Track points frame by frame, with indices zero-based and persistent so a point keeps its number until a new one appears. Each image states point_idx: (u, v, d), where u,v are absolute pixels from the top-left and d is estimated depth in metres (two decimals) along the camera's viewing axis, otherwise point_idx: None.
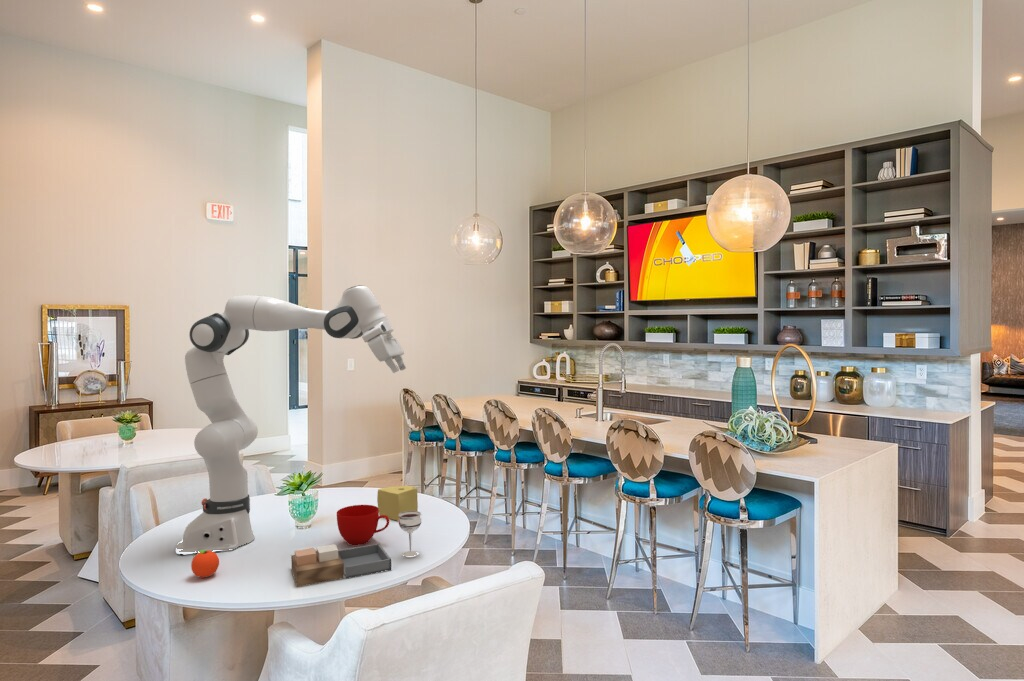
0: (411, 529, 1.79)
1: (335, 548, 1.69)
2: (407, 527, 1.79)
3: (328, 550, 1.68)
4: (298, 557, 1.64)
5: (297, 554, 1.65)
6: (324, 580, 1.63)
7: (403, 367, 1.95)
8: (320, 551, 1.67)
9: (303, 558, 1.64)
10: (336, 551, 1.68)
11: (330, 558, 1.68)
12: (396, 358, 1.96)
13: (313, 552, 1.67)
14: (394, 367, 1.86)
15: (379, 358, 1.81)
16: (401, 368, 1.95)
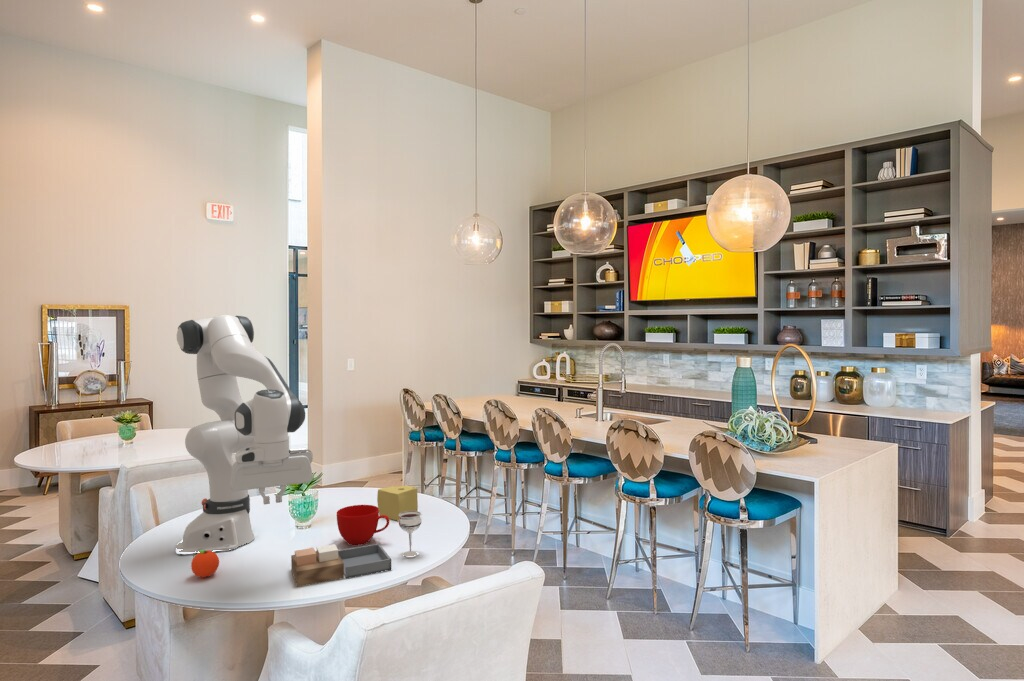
0: (411, 529, 1.79)
1: (335, 548, 1.69)
2: (407, 527, 1.79)
3: (328, 550, 1.68)
4: (298, 557, 1.64)
5: (297, 554, 1.65)
6: (324, 580, 1.63)
7: (276, 500, 1.63)
8: (320, 551, 1.67)
9: (303, 558, 1.64)
10: (336, 551, 1.68)
11: (330, 558, 1.68)
12: None
13: (313, 552, 1.67)
14: (263, 499, 1.62)
15: None
16: (276, 499, 1.64)
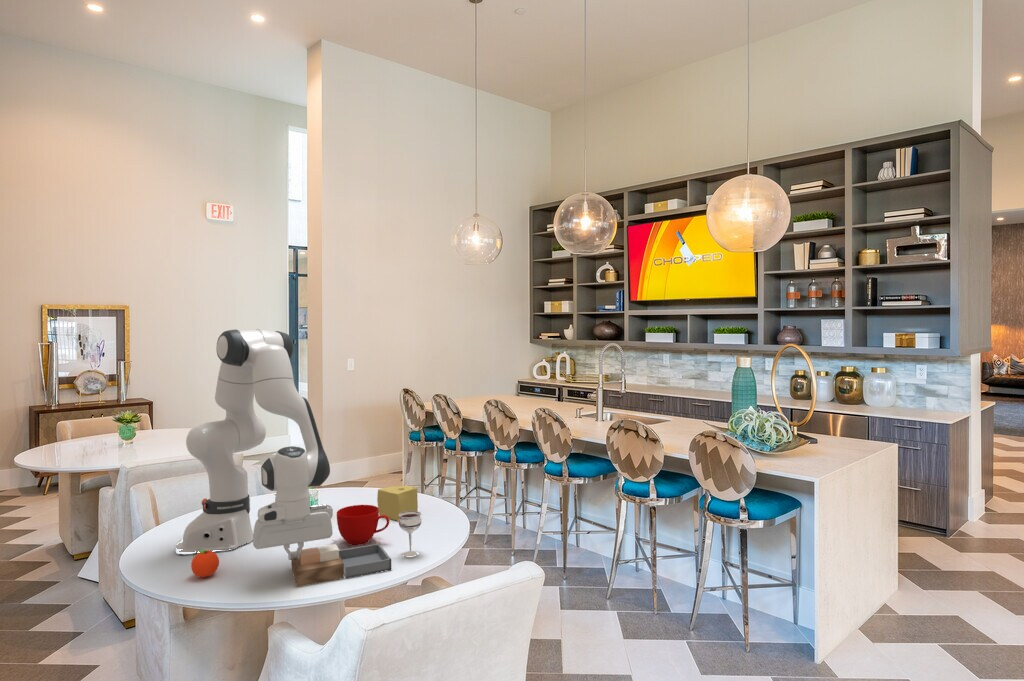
0: (411, 529, 1.79)
1: (336, 548, 1.70)
2: (407, 527, 1.79)
3: (329, 550, 1.68)
4: (302, 556, 1.64)
5: (301, 553, 1.66)
6: (324, 580, 1.63)
7: None
8: (321, 551, 1.67)
9: (307, 558, 1.65)
10: (337, 551, 1.68)
11: (331, 558, 1.68)
12: None
13: (317, 551, 1.67)
14: (288, 555, 1.65)
15: None
16: None
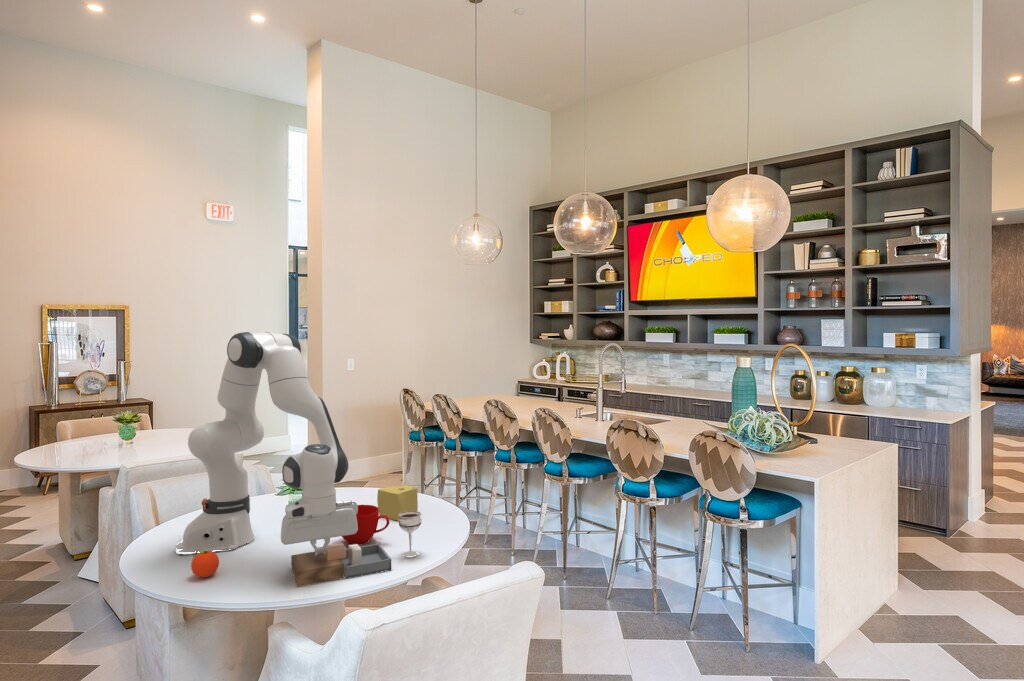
0: (411, 529, 1.79)
1: None
2: (407, 527, 1.79)
3: None
4: (329, 552, 1.67)
5: (327, 549, 1.69)
6: (324, 580, 1.63)
7: None
8: None
9: (333, 553, 1.68)
10: None
11: (354, 560, 1.70)
12: None
13: (343, 547, 1.70)
14: (315, 550, 1.68)
15: None
16: None
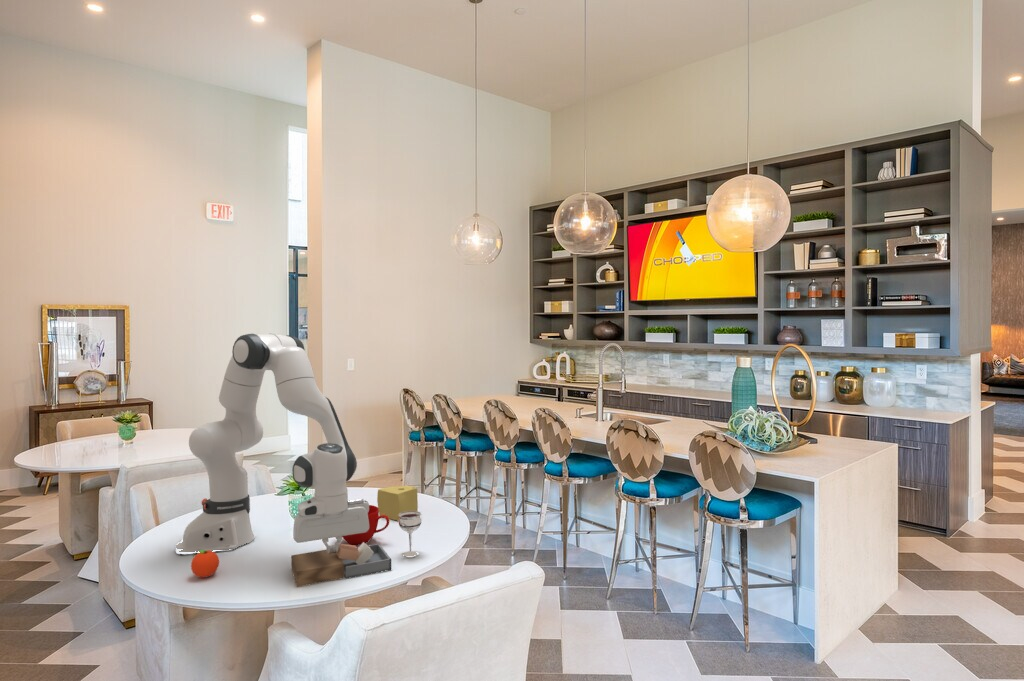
0: (411, 529, 1.79)
1: None
2: (407, 527, 1.79)
3: None
4: (342, 550, 1.69)
5: (341, 547, 1.70)
6: (324, 580, 1.63)
7: (332, 551, 1.70)
8: None
9: (346, 552, 1.69)
10: None
11: (361, 556, 1.71)
12: None
13: (356, 549, 1.72)
14: (327, 548, 1.69)
15: (293, 537, 1.67)
16: None
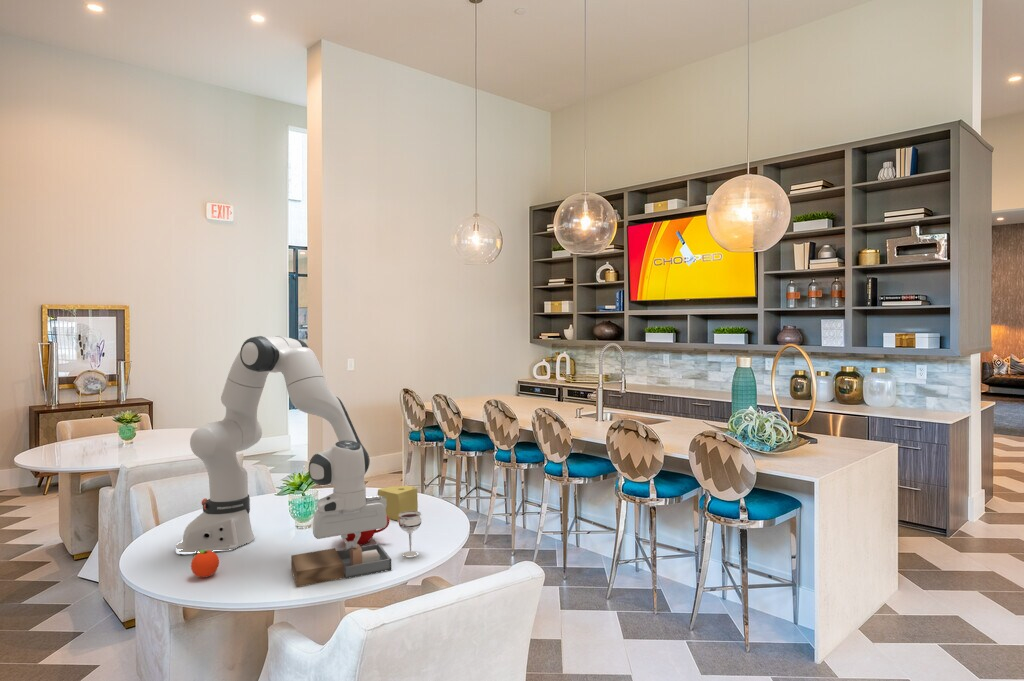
0: (411, 529, 1.79)
1: None
2: (407, 527, 1.79)
3: None
4: (361, 551, 1.71)
5: (360, 549, 1.72)
6: (324, 580, 1.63)
7: (351, 546, 1.72)
8: None
9: (359, 556, 1.71)
10: None
11: (369, 558, 1.72)
12: None
13: None
14: (345, 544, 1.71)
15: None
16: None
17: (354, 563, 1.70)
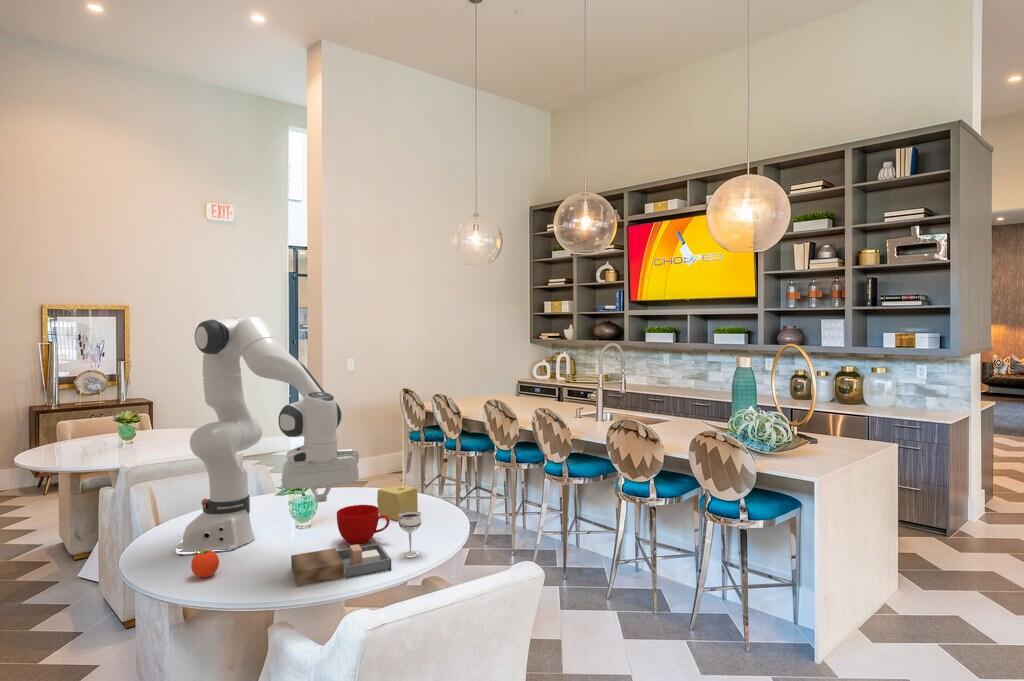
0: (411, 529, 1.79)
1: None
2: (407, 527, 1.79)
3: None
4: (361, 551, 1.71)
5: (360, 549, 1.72)
6: (324, 580, 1.63)
7: None
8: None
9: (359, 556, 1.71)
10: None
11: (369, 558, 1.72)
12: None
13: None
14: (315, 497, 1.68)
15: None
16: None
17: (354, 563, 1.70)
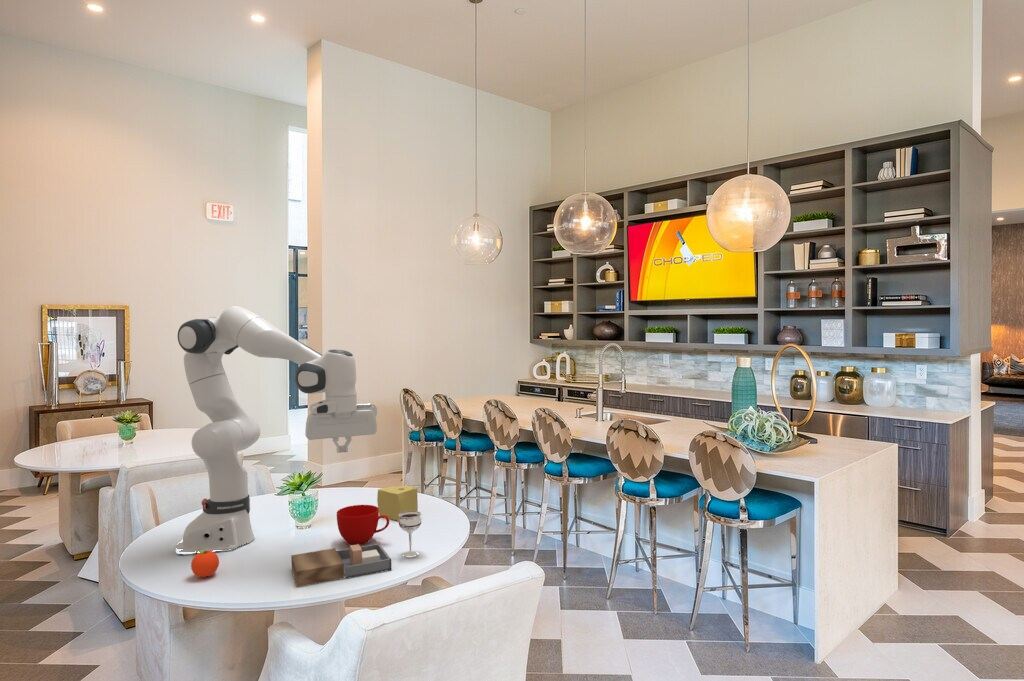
0: (411, 529, 1.79)
1: None
2: (407, 527, 1.79)
3: None
4: (361, 551, 1.71)
5: (360, 549, 1.72)
6: (324, 580, 1.63)
7: (342, 450, 1.79)
8: None
9: (359, 556, 1.71)
10: None
11: (369, 558, 1.72)
12: (345, 437, 1.81)
13: None
14: (337, 448, 1.79)
15: None
16: None
17: (354, 563, 1.70)
